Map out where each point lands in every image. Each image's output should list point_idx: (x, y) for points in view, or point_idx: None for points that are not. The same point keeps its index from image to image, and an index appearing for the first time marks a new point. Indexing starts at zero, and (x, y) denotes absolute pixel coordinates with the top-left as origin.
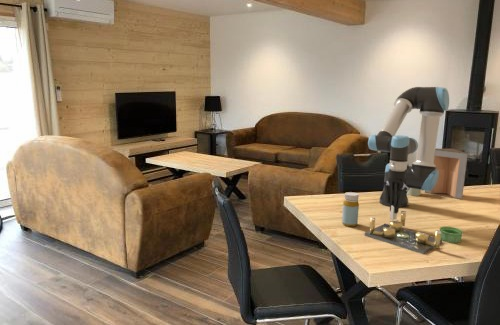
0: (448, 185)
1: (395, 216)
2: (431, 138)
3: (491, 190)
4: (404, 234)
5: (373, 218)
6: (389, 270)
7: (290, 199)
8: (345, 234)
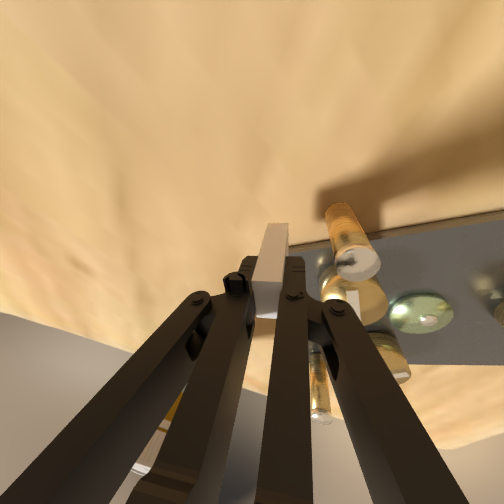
0: None
1: (287, 242)
2: None
3: None
4: (424, 310)
5: (324, 420)
6: (479, 439)
7: None
8: (269, 373)
